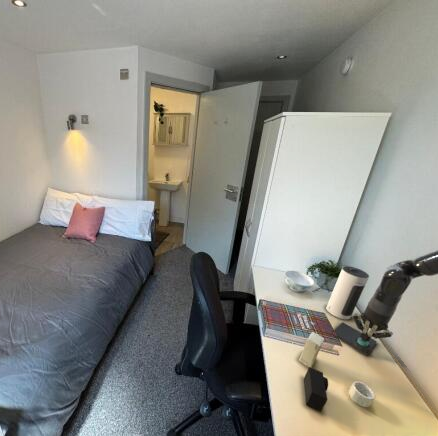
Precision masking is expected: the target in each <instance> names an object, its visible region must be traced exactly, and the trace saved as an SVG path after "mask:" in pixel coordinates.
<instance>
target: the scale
mask: <svg viewBox="0 0 438 436" xmlns="http://www.w3.org/2000/svg"><path fill="white" fill-rule="evenodd" d="M333 331H334V332H335V333H336V335H337V337H338V338H337V337H336V338H337V339H339V340H340V341H342V342H343V343H345V344H346V345H348V346H350V347H351V348H353V349H354V350H355V351H358V352H360V353H361V354H363V355H364V356H366V357H367V356H368V355H369V354H370V353H371V352H372V350H373V348H374V347H375V345H376V344H377V340H376V339H375V338H373V337H371V338H370V340H369V341H368V342H369V345H368V347H363V346H361V345H360V344H358V343H357V340H358V338H360V336H361V334H362V331H360V330H359V329H356V328H354V327H352V326H351V325H350V324H349V325H348V324H347V323H345V322H344V321H342V322H341V323H340V324H339V325H338V326H336V328H334V330H333Z"/></svg>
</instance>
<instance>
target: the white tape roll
mask: <svg viewBox="0 0 438 436" xmlns="http://www.w3.org/2000/svg"><path fill="white" fill-rule="evenodd" d="M348 395H349V397H350V399H351V400H352V401H353V402H354V403H355V404H356V405H358V406H360V407H361V408H362V407H363V408H370V406H371V405H372V403H373V402H374V400H375V398H376V394H375V391H374V390H373V389H372V388H371V387H370V386H369V385H367V384H366V383H364V382H361V381H358V380H355V381H353V383H352V384H351V385H350V387H349V389H348Z"/></svg>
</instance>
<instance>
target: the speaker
mask: <svg viewBox="0 0 438 436" xmlns="http://www.w3.org/2000/svg"><path fill="white" fill-rule="evenodd" d="M369 278H370V275H369V273H368V272H366V271H364V270H362V269H360V268H358V267H354V266H349V265H344V266H342V268H341V270H340V273H339V274H338V277H337V280H336V283H335V285H334V287H333V290H332V292H331V294H330V297H329V300H328V302H327V305H326V307H325V308H326V311H327V312H328V313H329V314H330V315H332V316H334V317H335V318H338V319H341V320H344V321H345V320H350V319H351V317H352V315H353V313H354V310H355V309H356V307H357V305H358V302H359V300H360V298H361V296H362V293H363V291H364V289H365V287H366V284H367V283H368V280H369Z"/></svg>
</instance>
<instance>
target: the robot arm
mask: <svg viewBox="0 0 438 436" xmlns="http://www.w3.org/2000/svg"><path fill="white" fill-rule="evenodd" d="M437 275H438V249H435V250H433V251H430V252H427V253H425V254H422V255H420V256H416V257H415V258H410V259H406V260H403V261H398V262H395V263H393V264H391V265H389V266H388V267H387V269H386V270H385V272H384V273H383V276H382V278H381V281H380V284H379V285H378V287H377V288H376V289H375V291H374V293H373V295H372V297H371V298H370V299H369V301H368V303H367V306H366V307H365V310H364V311H363V312H362V313H361V314H358V313H355V314H353V316H352V318H353V320H354V322H355V325H356V327H357V330H359V331H361V333H362V334H361V336H360V338H362V339H361V340H364V342H366V341H367V342H368V341H369V340H370V338H373V339H375V340H376V339H386V338H391V337H392V336H393V334H394V333H393V332H392V331H390V330H389V323H390V322H391V320H392V318H393V316H394V315H395V313H396V311H397V309H398V308H397V307H398V306H399V303H400V302H401V300H402V298H403V295H404V293H405V292H406V291H407V289H408V288H409V286H410V285H411V283H412V281H413V280H414V279H416V278H420V277H424V276H426V277H432V276H437ZM381 331H382V332H381ZM375 332H376V333H375Z"/></svg>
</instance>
